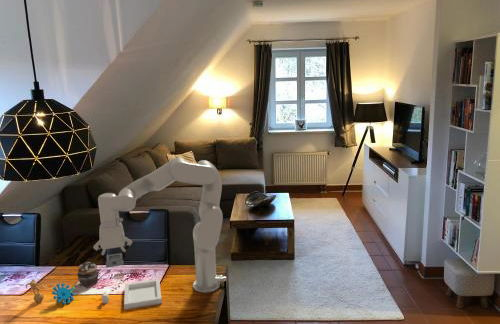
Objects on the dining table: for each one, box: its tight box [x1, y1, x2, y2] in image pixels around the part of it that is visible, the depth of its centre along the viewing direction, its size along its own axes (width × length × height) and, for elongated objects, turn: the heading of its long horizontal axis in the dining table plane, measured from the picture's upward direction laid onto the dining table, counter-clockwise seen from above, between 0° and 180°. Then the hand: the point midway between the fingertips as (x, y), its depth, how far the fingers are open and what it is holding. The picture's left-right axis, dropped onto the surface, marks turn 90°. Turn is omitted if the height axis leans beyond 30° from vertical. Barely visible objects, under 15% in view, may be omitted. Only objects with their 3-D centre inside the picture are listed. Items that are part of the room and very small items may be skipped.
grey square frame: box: [105, 252, 124, 268], centre depth 173 cm, size 7×8×3 cm
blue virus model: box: [51, 282, 76, 305], centre depth 178 cm, size 11×6×10 cm
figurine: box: [25, 278, 45, 303], centre depth 176 cm, size 8×6×12 cm
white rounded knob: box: [101, 291, 110, 304], centre depth 177 cm, size 3×4×4 cm
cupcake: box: [77, 260, 99, 288], centre depth 192 cm, size 10×10×10 cm
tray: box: [123, 278, 163, 310], centre depth 181 cm, size 16×18×2 cm
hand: (114, 260), depth 174 cm, fingers closed on grey square frame, 6 cm apart
